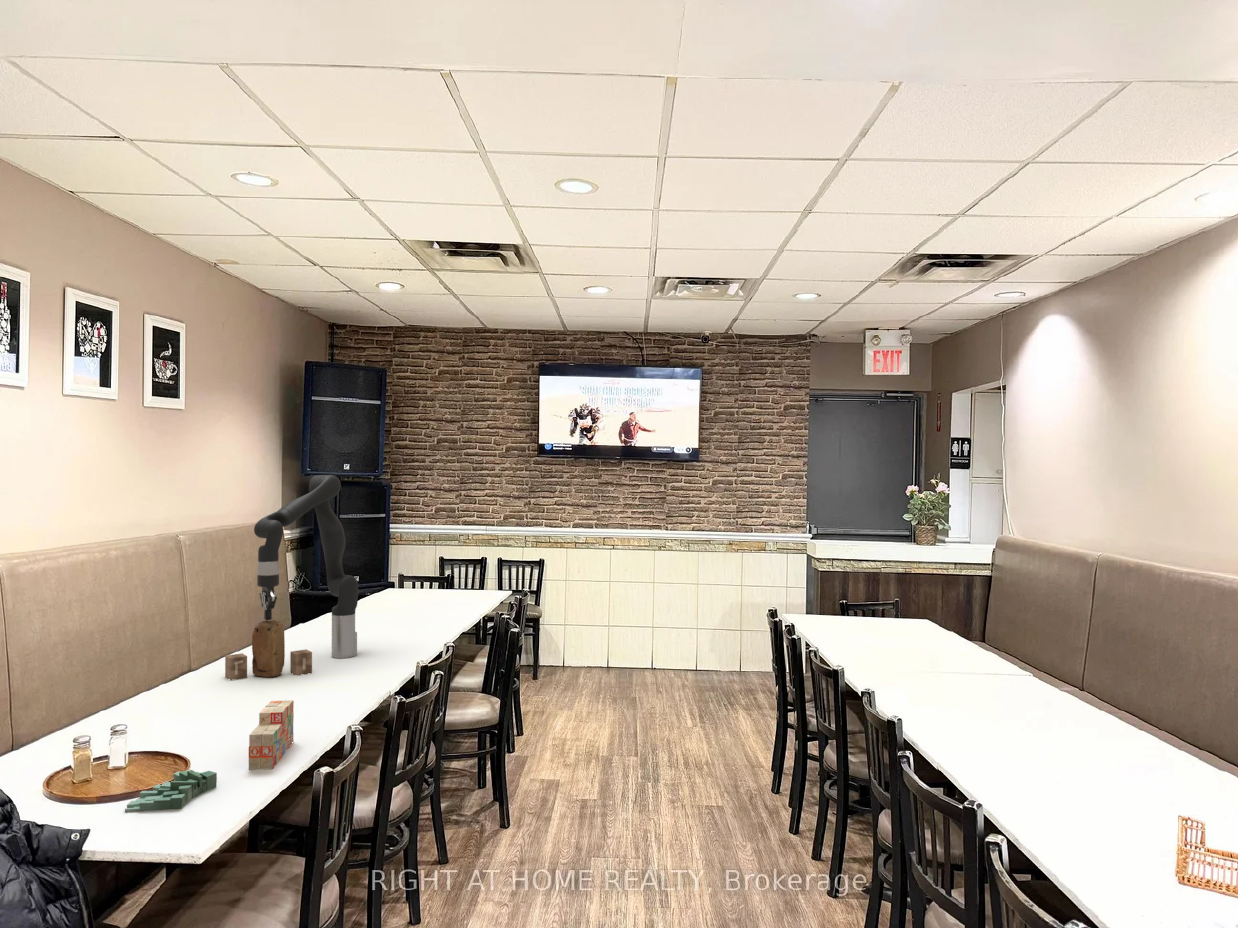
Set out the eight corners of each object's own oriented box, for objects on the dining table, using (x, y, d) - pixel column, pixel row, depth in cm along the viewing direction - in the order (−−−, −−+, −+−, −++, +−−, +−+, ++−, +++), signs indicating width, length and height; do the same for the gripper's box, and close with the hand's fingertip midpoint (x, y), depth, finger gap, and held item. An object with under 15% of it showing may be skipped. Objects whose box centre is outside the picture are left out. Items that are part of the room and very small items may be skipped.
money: (199, 810, 195) (200, 789, 195) (123, 814, 192) (123, 793, 192) (225, 777, 215) (225, 758, 215) (156, 781, 212) (156, 762, 212)
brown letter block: (242, 674, 316) (242, 653, 316) (247, 677, 311) (247, 656, 311) (225, 677, 312) (225, 655, 312) (230, 680, 307) (230, 658, 307)
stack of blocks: (273, 769, 220) (273, 722, 220) (248, 770, 219) (248, 723, 219) (293, 742, 241) (293, 699, 241) (270, 743, 240) (270, 699, 240)
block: (286, 673, 317) (286, 620, 317) (274, 678, 310) (274, 624, 310) (261, 671, 320) (261, 619, 320) (248, 676, 313) (248, 622, 313)
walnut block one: (306, 670, 323) (306, 649, 323) (312, 673, 318) (312, 652, 318) (290, 672, 319) (290, 651, 319) (296, 675, 315) (296, 654, 314)
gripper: (284, 574, 312) (284, 621, 312) (272, 570, 322) (272, 616, 322) (263, 575, 307) (262, 623, 307) (252, 572, 318) (251, 618, 318)
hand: (267, 619), depth 315 cm, fingers closed
